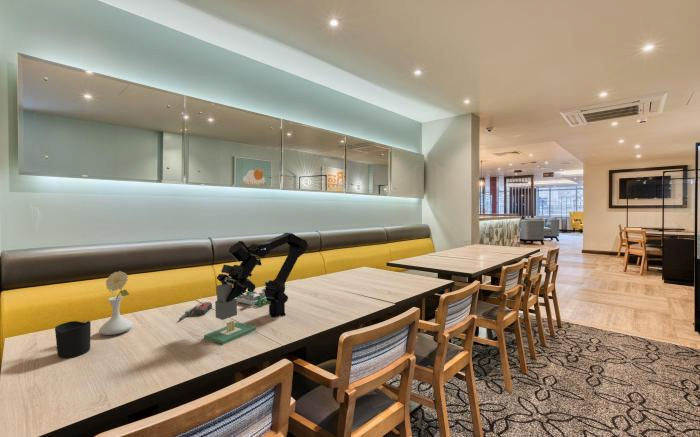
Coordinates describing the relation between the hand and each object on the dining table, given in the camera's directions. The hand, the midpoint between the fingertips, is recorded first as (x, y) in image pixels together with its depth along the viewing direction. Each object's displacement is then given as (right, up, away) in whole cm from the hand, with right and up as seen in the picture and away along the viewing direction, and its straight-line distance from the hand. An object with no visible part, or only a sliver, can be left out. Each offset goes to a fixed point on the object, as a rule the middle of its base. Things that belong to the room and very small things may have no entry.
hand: (223, 300), depth 130 cm
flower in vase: (-43, -14, +3) cm, 46 cm away
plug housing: (+1, -7, +1) cm, 7 cm away
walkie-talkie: (-22, -13, +25) cm, 35 cm away
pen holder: (-46, -15, -15) cm, 50 cm away
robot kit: (+3, -12, +47) cm, 49 cm away
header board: (+3, -13, +1) cm, 14 cm away
